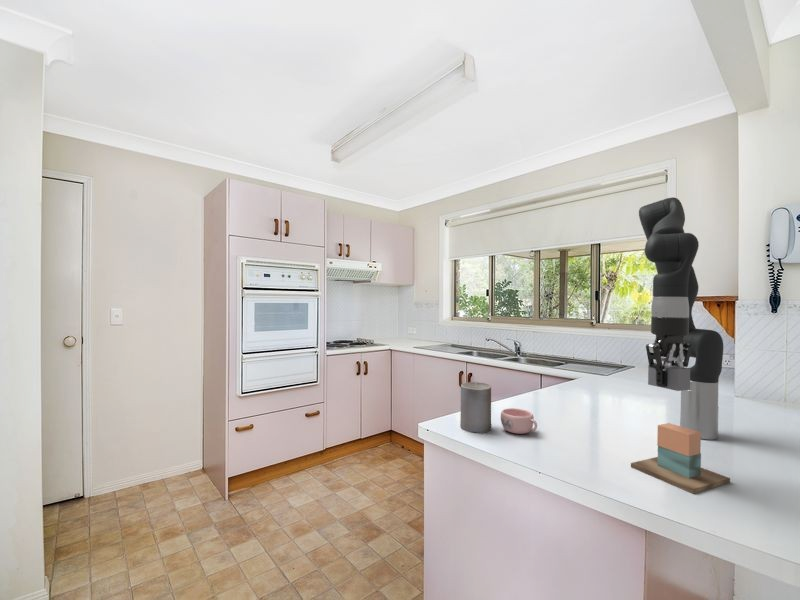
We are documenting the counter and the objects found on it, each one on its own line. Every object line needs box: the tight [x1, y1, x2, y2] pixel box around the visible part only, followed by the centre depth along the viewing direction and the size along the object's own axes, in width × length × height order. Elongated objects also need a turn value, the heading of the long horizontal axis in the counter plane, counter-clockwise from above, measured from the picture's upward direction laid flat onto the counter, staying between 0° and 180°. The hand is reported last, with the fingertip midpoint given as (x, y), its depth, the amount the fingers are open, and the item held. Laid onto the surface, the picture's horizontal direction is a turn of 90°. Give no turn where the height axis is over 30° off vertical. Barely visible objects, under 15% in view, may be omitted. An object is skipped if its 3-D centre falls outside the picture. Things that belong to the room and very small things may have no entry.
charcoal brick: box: [647, 363, 690, 392], centre depth 92 cm, size 4×7×5 cm, turn 23°
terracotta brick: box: [656, 422, 702, 456], centre depth 91 cm, size 4×7×5 cm, turn 24°
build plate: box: [630, 445, 731, 495], centre depth 91 cm, size 14×14×6 cm
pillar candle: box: [459, 381, 492, 434], centre depth 121 cm, size 10×10×15 cm
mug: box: [500, 407, 538, 435], centre depth 118 cm, size 12×10×6 cm
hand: (668, 385), depth 92 cm, fingers closed on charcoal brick, 4 cm apart
